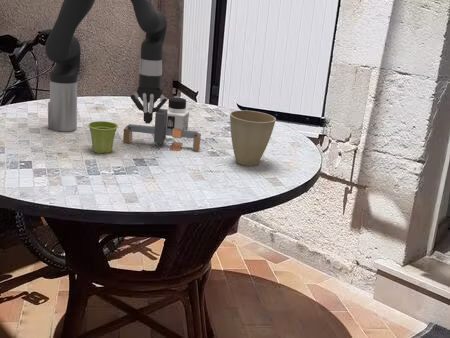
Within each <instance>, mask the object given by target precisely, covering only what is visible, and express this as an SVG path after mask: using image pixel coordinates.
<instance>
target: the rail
mask: <svg viewBox="0 0 450 338" xmlns="http://www.w3.org/2000/svg"><path fill="white" fill-rule="evenodd" d="M154 131H155V126H152V125H151V126H150V125H143V124H142V125H140V124H131V123H129V124H128V125H127V124H126V126H125V127H124V128H123V140H122V141H123V143H122V144H128V145H129V144H130V143H132V141H133V133H142V134H149V135H150V134H151V135H154ZM164 135H166V137H167V136H169V137H171V138H176V139H182V138H186V139H188V138H189V139H192V140H193V143H192V151H193V152H199V151H200V147H201V136H202V133H199V131H195V130H182V129H179V128H173V129H169V128H164ZM183 144H184V143H183V142H178V141H172V143H171V146H170V147H169V151H176V152H180V151H181V148H183Z"/></svg>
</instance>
